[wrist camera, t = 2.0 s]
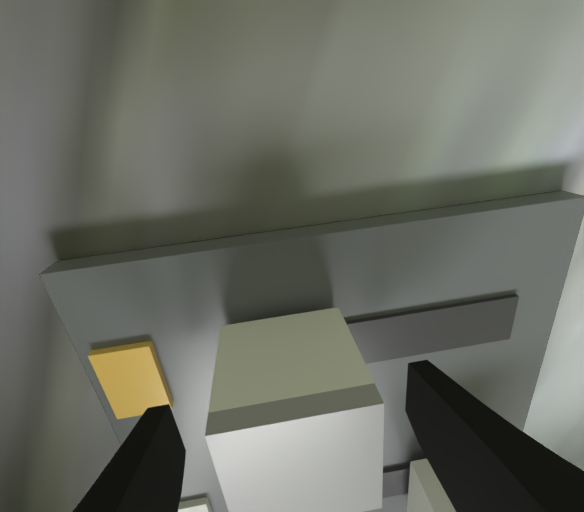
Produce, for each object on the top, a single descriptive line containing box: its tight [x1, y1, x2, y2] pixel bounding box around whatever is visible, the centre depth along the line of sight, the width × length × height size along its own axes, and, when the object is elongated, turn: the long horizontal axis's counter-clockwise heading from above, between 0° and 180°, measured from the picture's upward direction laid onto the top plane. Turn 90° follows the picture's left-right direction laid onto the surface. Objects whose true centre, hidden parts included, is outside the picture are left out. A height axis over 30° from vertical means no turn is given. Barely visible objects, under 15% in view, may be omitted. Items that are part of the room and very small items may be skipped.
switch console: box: [39, 191, 584, 512], centre depth 14 cm, size 18×18×1 cm
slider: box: [205, 307, 384, 512], centre depth 10 cm, size 4×4×4 cm
